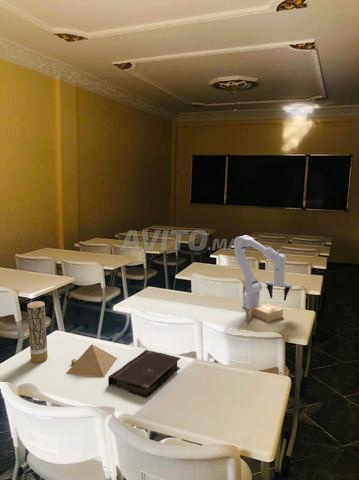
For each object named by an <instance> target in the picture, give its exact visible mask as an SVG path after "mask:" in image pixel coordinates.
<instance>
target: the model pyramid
mask: <svg viewBox="0 0 359 480" xmlns="http://www.w3.org/2000/svg"><path fill="white" fill-rule="evenodd" d="M117 360H118V357H116V356H114V355H112V354H111V353H109V352H107V351H105V350H104V349H101V348H100V347H98V346H96V345H94V344H93V343H91V344H90V345H89V346H88V348H87V349H86V350H85V351H84V352H83V353H82V354H81V355H80V356H79V357H78V359H76V358H73V359H71V366H70V368H69V369H68V370H67V372H65V374H67V375H77V376H87V377H96V378H105V377H106V375H107V374H108V372H109V371H110V369H111V368H112V366H113V365H114V364H115V363H116V361H117Z"/></svg>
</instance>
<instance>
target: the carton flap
mask: <svg viewBox="0 0 359 480" xmlns="http://www.w3.org/2000/svg"><path fill="white" fill-rule="evenodd" d="M245 314H246V315H245V316H246V317H245V318H246V319H245V322H246V323H249V321H250V320H251V318H253V316H254V315H253V308H252V309H251V310H249V309H246V313H245Z"/></svg>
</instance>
